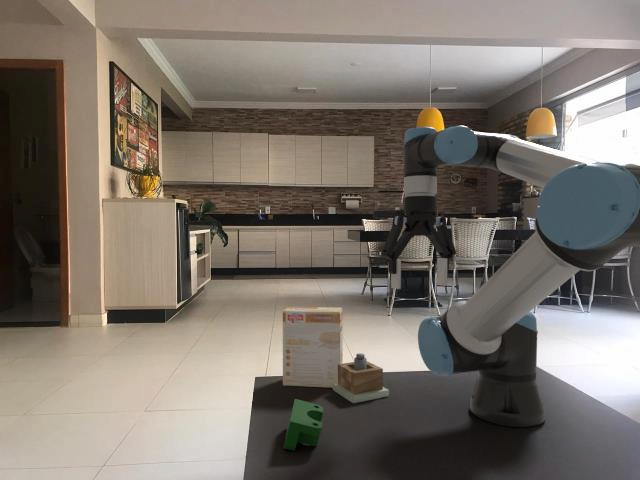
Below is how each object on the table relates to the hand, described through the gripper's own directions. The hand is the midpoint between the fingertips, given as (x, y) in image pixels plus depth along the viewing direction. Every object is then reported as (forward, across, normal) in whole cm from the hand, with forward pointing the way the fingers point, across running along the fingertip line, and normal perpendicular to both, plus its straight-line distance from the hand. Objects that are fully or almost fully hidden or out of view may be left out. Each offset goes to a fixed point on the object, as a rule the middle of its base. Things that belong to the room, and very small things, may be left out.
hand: (419, 286), depth 109 cm
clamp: (+27, +33, +6) cm, 43 cm away
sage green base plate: (+27, +10, -10) cm, 30 cm away
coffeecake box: (+27, +17, -22) cm, 39 cm away
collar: (+25, +10, -10) cm, 29 cm away
